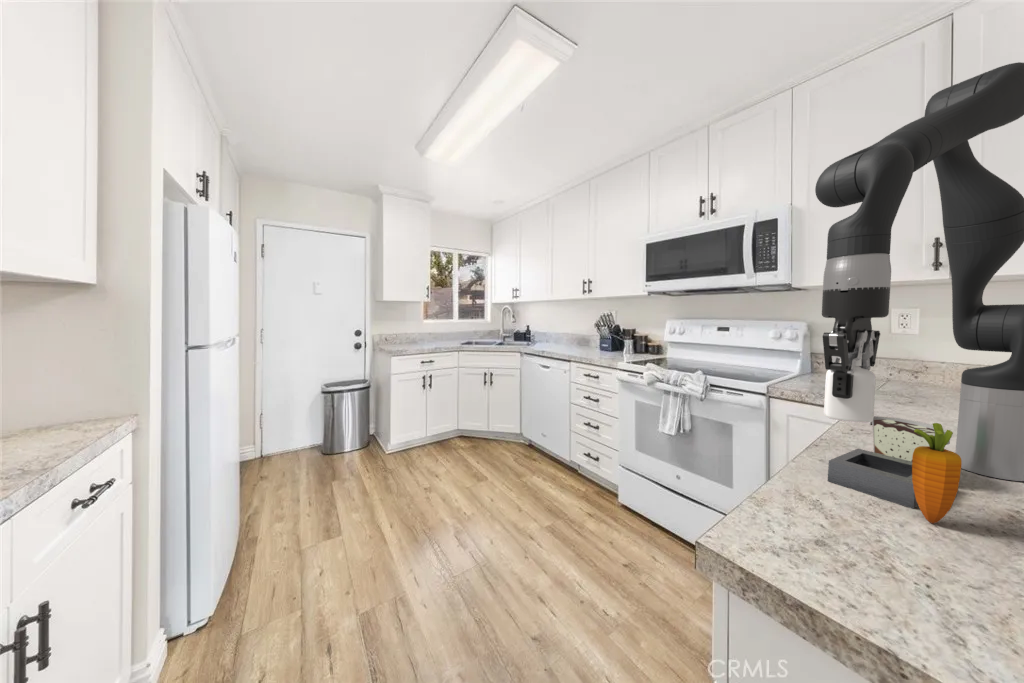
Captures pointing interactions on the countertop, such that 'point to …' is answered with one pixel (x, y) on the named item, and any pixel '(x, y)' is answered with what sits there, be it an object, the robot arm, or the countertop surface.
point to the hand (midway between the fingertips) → (848, 395)
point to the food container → (899, 436)
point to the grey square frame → (875, 476)
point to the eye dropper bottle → (859, 403)
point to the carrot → (935, 474)
